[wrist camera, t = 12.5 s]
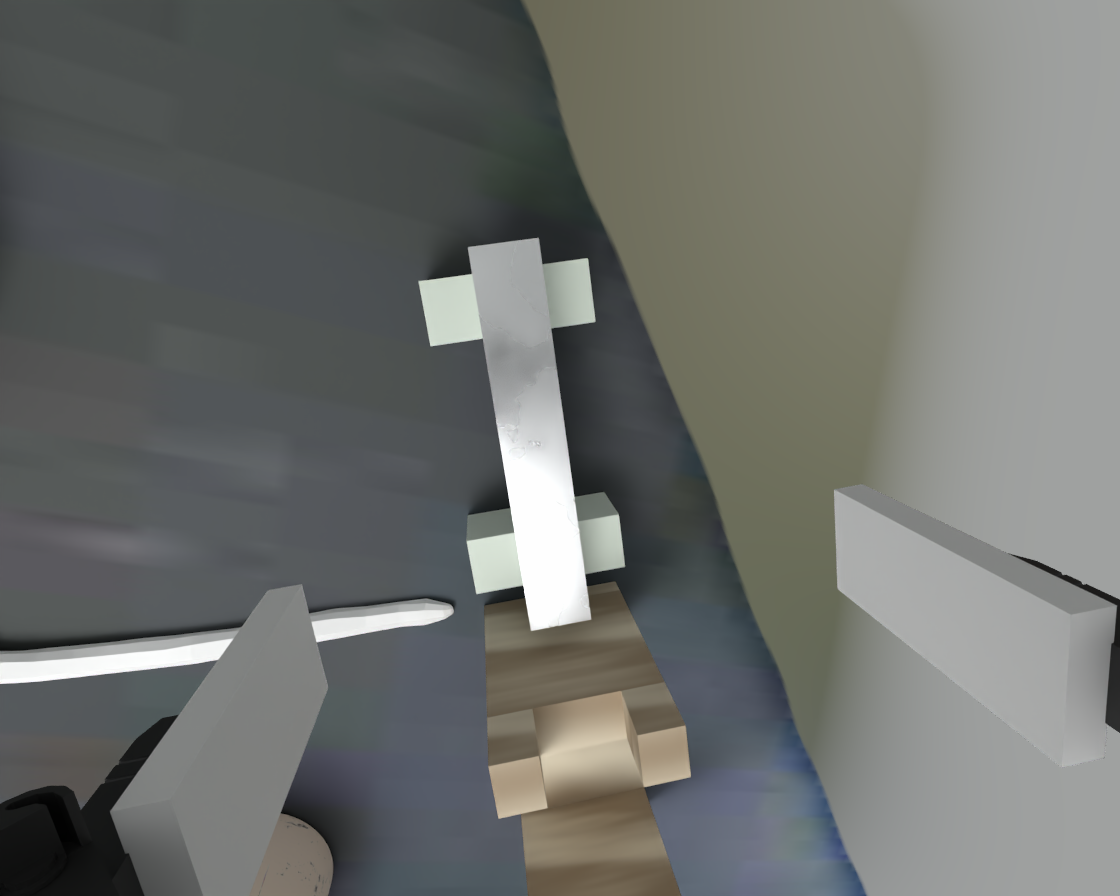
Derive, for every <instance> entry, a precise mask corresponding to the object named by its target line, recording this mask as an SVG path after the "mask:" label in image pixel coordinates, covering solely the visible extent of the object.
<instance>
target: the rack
mask: <svg viewBox="0 0 1120 896" xmlns="http://www.w3.org/2000/svg"><path fill="white" fill-rule="evenodd" d="M587 592H588V599H589V606H590V614H591V620H586V621H581V622H576V623H571V624H565V625H560V626H555V627H550V628H544V629H539V630H534V631H531V628H530V622H529V616H528V610H527V604H526V598H523V599H517V600H512V601H506V602H501V603H496V604H490V605H485V606H484V618H485V655H486V693H487V730H488V767H489V772H490V777H491V782H492V787H493V792H494V798H495V803H496V808H497V813H498V818H499V819H500V818H504V817H509V816H513V815H518V814H521V821H522V832H523V844H524V855H525V867H526V878H527V890H528V896H681V894H680V891H679V888H678V885H677V882H676V879H675V876H674V873H673V871H672V868H671V865H670V862H669V859H668V856H667V853H666V850H665V847H664V844H663V841H662V838H661V835H660V833H659V830H658V827H657V824H656V821H655V818H654V815H653V812H652V809H651V806H650V803H649V800H648V797H647V795H646V792H645V789H644V787H648V786H652V785H657V784H662V783H666V782H671V781H675V780H680V779H685V778H689V777H691V773H690V763H689V753H688V744H687V734H686V725H685V723H684V721H683V719H682V717H681V715H680V713H679V711H678V709H677V707H676V705H675V703H674V701H673V699H672V696H671V694H670V692H669V690H668V688H667V686H666V684H665V682H664V680H663V678H662V676H661V674H660V672H659V670H658V668H657V666H656V664H655V662H654V660H653V658H652V655H651V653H650V651H649V649H648V647H647V645H646V643H645V641H644V639H643V637H642V635H641V633H640V631H639V629H638V627H637V625H636V623H635V621H634V619H633V617H632V615H631V612H630V610H629V608H628V606H627V604H626V602H625V600H624V598H623V596H622V594H621V592H620V590H619V588H618V586H617V584H616V582H615V581H614V582H609V583H604V584H598V585H593V586H587Z"/></svg>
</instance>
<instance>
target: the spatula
mask: <svg viewBox="0 0 1120 896" xmlns="http://www.w3.org/2000/svg"><path fill="white" fill-rule="evenodd" d="M453 612H454V610H453V607H452V606H451V605H450V604H448V603H444V602H439V601H435V600H431V599H417V600H409V601H401V602H394V603H387V604H379V605H372V606H363V607H349V608H336V609H330V610H325V611H319V612H314V613H309V615H310V619H311V623H312V627H313V630H314V634H315V638H316V642H319V641H325V640H331V639H337V638H342V637H347V636H352V635H358V634H363V633H368V632H374V631H380V630H385V629H391V628H397V627H403V626H416V625H427V624H430V623H433V622H437V621H440V620H443V619H446V618H447V617H449V616H450V615H452V614H453ZM240 629H241V627H239V628H232V629H223V630H215V631H206V632H197V633H189V634H181V635H171V636H160V637H149V638H139V639H131V640H124V641H116V642H107V643H96V644H85V645H75V646H64V647H53V648H43V649H34V650H24V651H0V684H4V683H22V682H37V681H46V680H55V679H65V678H74V677H83V676H92V675H100V674H109V673H118V672H127V671H136V670H145V669H153V668H162V667H170V666H179V665H188V664H196V663H202V662H207V661H213V660H219V658H220V657H221V655H222V654H223V653H224V651H225V650H226V648H227V647H228V646H229V644H230V643H231V641H232V640H233V639H234V637H235V636H236V634H237V633H238V632H239V630H240Z"/></svg>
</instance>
